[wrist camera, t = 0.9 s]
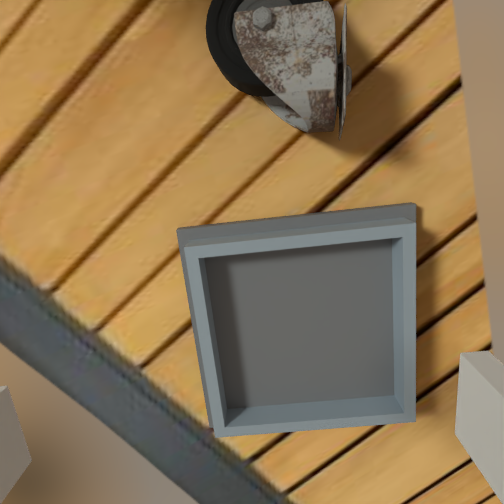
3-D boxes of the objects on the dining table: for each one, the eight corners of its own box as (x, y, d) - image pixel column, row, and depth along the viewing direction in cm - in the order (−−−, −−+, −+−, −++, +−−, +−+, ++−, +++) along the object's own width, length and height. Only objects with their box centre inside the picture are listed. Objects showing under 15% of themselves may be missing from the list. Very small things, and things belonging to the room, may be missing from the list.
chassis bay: (178, 227, 32) (169, 236, 29) (411, 202, 31) (429, 208, 28) (211, 420, 37) (206, 447, 34) (411, 404, 36) (427, 430, 33)
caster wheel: (221, 7, 30) (347, -8, 28) (223, 147, 31) (346, 141, 29) (194, -56, 23) (356, -82, 22) (196, 124, 24) (354, 114, 22)
